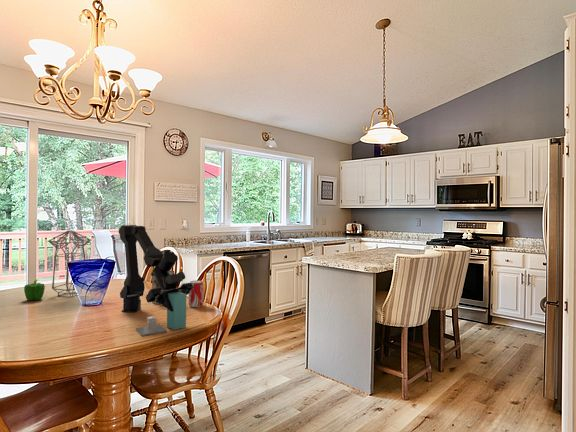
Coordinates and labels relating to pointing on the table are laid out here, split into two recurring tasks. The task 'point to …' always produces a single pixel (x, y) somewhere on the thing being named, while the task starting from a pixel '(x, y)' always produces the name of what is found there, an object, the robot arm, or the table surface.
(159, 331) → the plate
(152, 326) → the post
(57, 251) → the geometric lantern
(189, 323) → the table surface
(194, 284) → the soda can
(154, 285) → the coffee box
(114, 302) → the table surface
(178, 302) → the teal rectangular block
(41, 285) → the bell pepper
